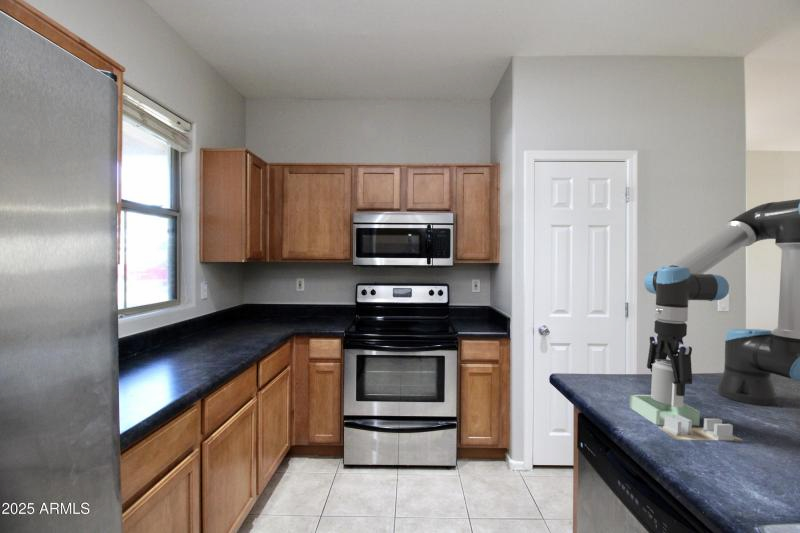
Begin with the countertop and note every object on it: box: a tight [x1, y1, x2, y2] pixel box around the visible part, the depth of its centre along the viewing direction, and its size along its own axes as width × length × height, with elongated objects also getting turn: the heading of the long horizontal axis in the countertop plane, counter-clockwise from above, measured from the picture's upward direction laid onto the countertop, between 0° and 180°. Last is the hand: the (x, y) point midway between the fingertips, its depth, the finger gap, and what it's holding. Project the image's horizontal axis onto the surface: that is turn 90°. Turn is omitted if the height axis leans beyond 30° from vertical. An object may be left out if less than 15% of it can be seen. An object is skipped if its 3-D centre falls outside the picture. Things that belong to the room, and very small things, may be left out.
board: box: [657, 426, 744, 442], centre depth 102 cm, size 17×7×1 cm, turn 91°
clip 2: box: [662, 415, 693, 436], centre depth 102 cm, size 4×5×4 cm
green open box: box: [629, 394, 701, 426], centre depth 112 cm, size 12×12×4 cm
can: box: [650, 358, 680, 407], centre depth 111 cm, size 8×8×12 cm
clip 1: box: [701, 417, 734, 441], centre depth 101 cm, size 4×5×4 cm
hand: (666, 400), depth 111 cm, fingers closed on can, 7 cm apart
